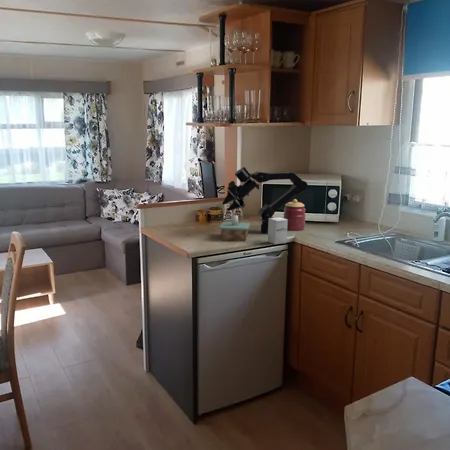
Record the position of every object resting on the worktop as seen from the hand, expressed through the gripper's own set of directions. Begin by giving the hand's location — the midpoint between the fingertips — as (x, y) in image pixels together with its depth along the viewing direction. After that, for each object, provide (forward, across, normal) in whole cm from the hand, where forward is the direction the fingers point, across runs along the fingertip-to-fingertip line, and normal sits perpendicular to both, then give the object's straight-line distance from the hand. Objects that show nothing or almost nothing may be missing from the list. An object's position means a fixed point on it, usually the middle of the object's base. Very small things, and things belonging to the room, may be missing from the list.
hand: (225, 207), depth 262 cm
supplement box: (-7, -2, +35) cm, 36 cm away
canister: (-23, -34, +24) cm, 47 cm away
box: (+7, -3, +16) cm, 18 cm away
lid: (+3, 0, +13) cm, 13 cm away
